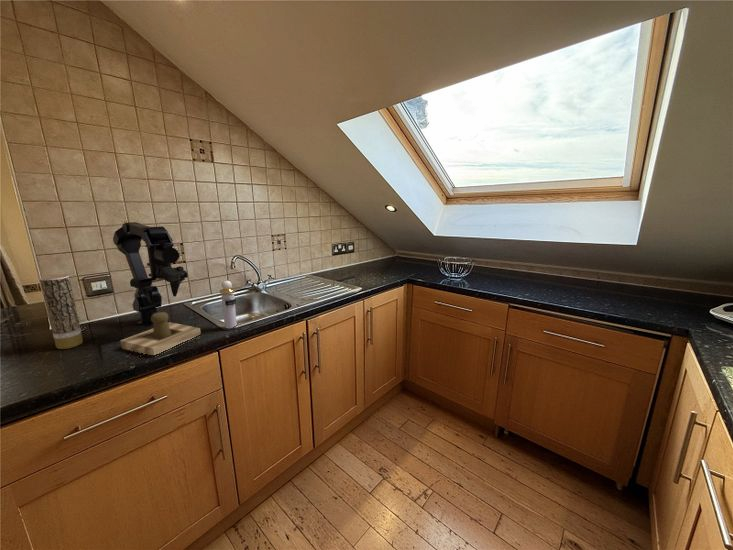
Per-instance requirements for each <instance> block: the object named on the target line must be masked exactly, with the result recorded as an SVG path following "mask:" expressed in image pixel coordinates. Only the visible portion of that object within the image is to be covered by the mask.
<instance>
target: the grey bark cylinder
mask: <svg viewBox="0 0 733 550" xmlns="http://www.w3.org/2000/svg"><path fill="white" fill-rule="evenodd" d="M39 281H40V286H41V290H42V294H43V297H44V302H45V307H46V311H47V315H48V319H49V324H50V327H51V332H52V336H53V340H54V344H55V348H57V349H59V350H67V349H71V348H76V347H78V346H80V345H82V344H83V342H84V340H83V335H82V330H81V325H80V321H79V320H80V319H79V316H78V315H79V314H78V310H77V306H76V302H75V301H76V300H75V297H74V292H73V288H72V284H71V279H70V274H66V273H64V274H63V273H62V274H51V275H46V276H41V277H39Z"/></svg>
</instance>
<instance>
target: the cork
mask: <svg viewBox="0 0 733 550" xmlns="http://www.w3.org/2000/svg"><path fill="white" fill-rule="evenodd" d="M169 316H170V315H169V313H167V312H165V311H161V312H160V311H159V312H158V313H155V314H153V315H152V316H151V321H152V322H153V328H154V333H153V338H154V339H158V340H160V339H163V338H165V337H167V336H170V335H172V334H171V331H170V328H169V325H168V323H169V322H168V321H169Z"/></svg>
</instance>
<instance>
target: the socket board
mask: <svg viewBox="0 0 733 550" xmlns="http://www.w3.org/2000/svg"><path fill="white" fill-rule="evenodd" d="M168 325H169V328H170V331H171V334H172V335H170V336H167V337H165V338H163V339H160V340H158V339H154V338H153V333H154V327H152V328H151V329H149V330H146V331H143V332H140V333H137V334H134V335H132V336H129V337H126V338H124V339H120V346H121V349H123V350H126V351H129V350H130V351H129V352H133V351H134V353H137V352H138V353H137V354H141V353H143V354H142V355H145V354H148V355H147V356H149V355H156V354H159V353H161V352H163V351H165V350H168V349H170V348H172V347H174V346H176V345H178V344H180V343H182V342H185V341H187V340H190V339H192V338H194V337H196V336H198V335H200V334H201V333H202V332H201V328H200V327H195V326H190V325H186V324H180V323H176V322H175V323H174V322H168ZM201 335H202V334H201ZM194 339H195V338H194ZM192 340H193V339H192ZM190 341H191V340H190ZM170 350H171V349H170ZM168 351H169V350H168Z"/></svg>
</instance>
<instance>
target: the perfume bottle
mask: <svg viewBox="0 0 733 550" xmlns="http://www.w3.org/2000/svg"><path fill="white" fill-rule="evenodd" d="M221 287H222V289H220V290H219V293H220V294H221V302H222V303H221V304H222V313H223V314H222V315H223V324H224V328H225V329H233V327H234V326H236V325H237V326H238V324H237V313H236V312H237V311H236V305H237V299H236V298H235V293H234V292H236V288H233V283H232V282H231V281H230V280H224V281H223V282H222V283H221ZM237 326H236V327H237ZM234 328H235V327H234Z"/></svg>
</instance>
